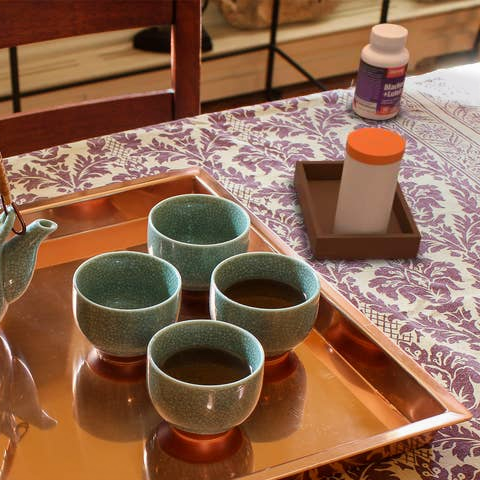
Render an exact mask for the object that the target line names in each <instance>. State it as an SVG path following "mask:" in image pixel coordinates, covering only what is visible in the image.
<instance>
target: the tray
mask: <svg viewBox="0 0 480 480" xmlns="http://www.w3.org/2000/svg"><path fill="white" fill-rule="evenodd" d="M344 161H345V160H296V161H295V167H294V176H293V185H294V189H295V193H296V196H297V200H298V204H299V208H300V212H301V215H302V219H303V223H304V227H305V231H306V235H307V239H308V242H309V246H310V249H311V253H312V257H313V260H320V261H321V260H323V261H324V260H409V259H410V260H412V259H413V260H414V259H415V260H416V259H417V258H418V254H419V249H420V246H421V242H422V241H421V240H422V235H421V232H420V230H419V228H418V225H417V223H416V220H415V218H414V215H413V213H412V211H411V209H410V206H409V203H408V201H407V199H406V197H405V194H404V192H403V189H402V187H401V185H400V183H399V179H398V180H397V185H396V189H395V194H394V199H393V204H392V208H391V213H390V218H389V223H388V228H387V232H386V234H333V228H334V221H335V215H336V209H337V203H338V197H339V191H340V185H341V179H342V173H343V167H344Z"/></svg>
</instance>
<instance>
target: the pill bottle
mask: <svg viewBox="0 0 480 480" xmlns="http://www.w3.org/2000/svg"><path fill="white" fill-rule="evenodd" d="M408 35H409V31H408V29H407V28H406V27H404V26H402V25H399V24H394V23H380V24H376V25H373V27H372V28H371V31H370V35H369V43H368V44H367V45H365V46H364V47H363V48H362V50H361V53H360V58H359V64H358V70H357V76H356V82H355V88H354V94H353V99H352V110H353V112H354V113H355V114H356V115H357V116H360V117H362V118H365V119H368V120H375V121H384V120H385V121H386V120H389V119H392V118H394V117H396V115H397V114H398V113H399V110H400V107H401V106H400V105H401V101H402V95H403V92H404V86H405V81H406V77H407V72H408V67H409V62H410V52H409V50H408V49H407V48H406V47H405V46H406V44H407V40H408Z"/></svg>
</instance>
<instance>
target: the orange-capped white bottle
mask: <svg viewBox="0 0 480 480" xmlns="http://www.w3.org/2000/svg"><path fill="white" fill-rule="evenodd" d="M406 147H407V143H406V140H405V138H404V137H403V136H402V135H400V134H399V133H397V132H394V131H393V130H390V129H386V128H381V127H362V128H358V129H356V130H355V129H354V130H352V131H351V132H350V133H349V134H348V136H347V137H346V142H345V155H344V160H343V161H344V167H343V173H342V179H341V185H340V191H339V197H338V203H337V209H336V215H335V221H334V228H333V234H386V232H387V228H388V223H389V218H390V213H391V208H392V204H393V199H394V194H395V189H396V185H397V180H398V181H399V175H400V170H401V165H402V160H403V158H404V157H405V151H406Z"/></svg>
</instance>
